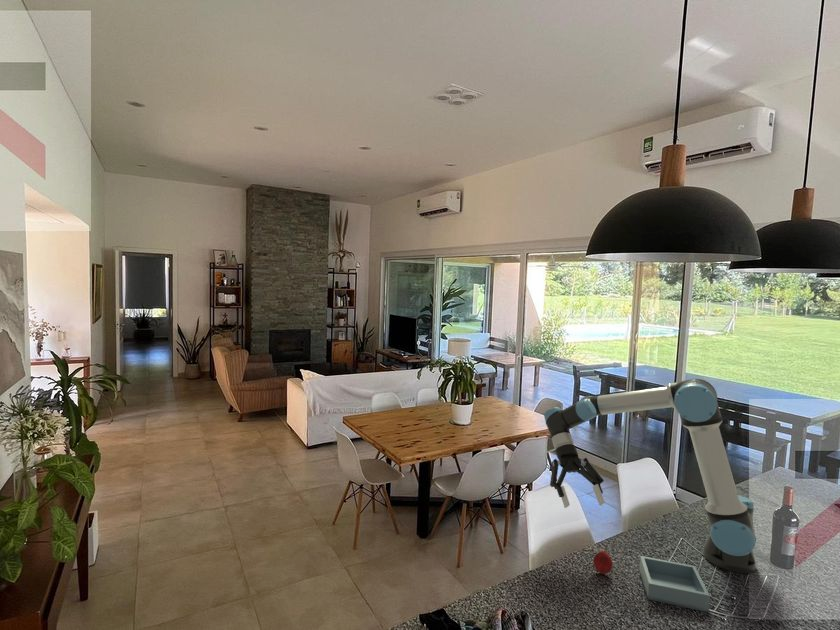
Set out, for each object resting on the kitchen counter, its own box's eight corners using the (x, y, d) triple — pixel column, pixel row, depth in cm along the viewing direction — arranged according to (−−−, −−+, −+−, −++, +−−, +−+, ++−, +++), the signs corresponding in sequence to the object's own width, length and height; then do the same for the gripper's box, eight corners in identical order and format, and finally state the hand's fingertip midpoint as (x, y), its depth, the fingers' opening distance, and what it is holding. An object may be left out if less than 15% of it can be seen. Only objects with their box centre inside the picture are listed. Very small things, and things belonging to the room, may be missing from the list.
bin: (693, 581, 145) (695, 566, 144) (708, 612, 130) (709, 595, 130) (639, 570, 149) (640, 555, 149) (647, 599, 135) (648, 583, 135)
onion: (613, 580, 143) (615, 556, 143) (594, 578, 144) (595, 553, 144) (609, 569, 149) (611, 546, 148) (591, 567, 150) (592, 543, 150)
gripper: (589, 450, 176) (611, 506, 162) (530, 452, 170) (547, 511, 156) (598, 442, 170) (621, 499, 156) (538, 444, 164) (556, 503, 151)
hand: (584, 505), depth 156 cm, fingers open, 13 cm apart
